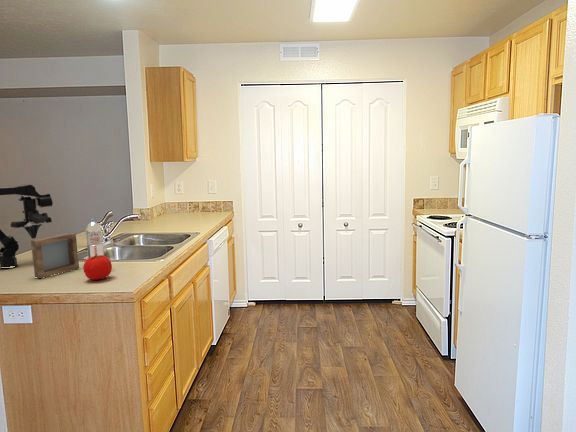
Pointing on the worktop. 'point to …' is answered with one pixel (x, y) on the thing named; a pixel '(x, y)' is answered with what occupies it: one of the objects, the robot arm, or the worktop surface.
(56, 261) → the door
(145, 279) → the worktop surface
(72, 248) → the cabinet frame
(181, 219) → the worktop surface
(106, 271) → the tomato
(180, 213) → the worktop surface
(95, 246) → the water bottle
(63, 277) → the worktop surface
